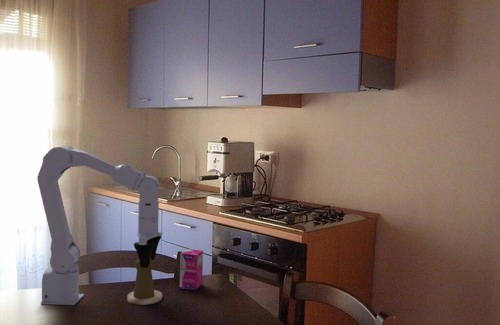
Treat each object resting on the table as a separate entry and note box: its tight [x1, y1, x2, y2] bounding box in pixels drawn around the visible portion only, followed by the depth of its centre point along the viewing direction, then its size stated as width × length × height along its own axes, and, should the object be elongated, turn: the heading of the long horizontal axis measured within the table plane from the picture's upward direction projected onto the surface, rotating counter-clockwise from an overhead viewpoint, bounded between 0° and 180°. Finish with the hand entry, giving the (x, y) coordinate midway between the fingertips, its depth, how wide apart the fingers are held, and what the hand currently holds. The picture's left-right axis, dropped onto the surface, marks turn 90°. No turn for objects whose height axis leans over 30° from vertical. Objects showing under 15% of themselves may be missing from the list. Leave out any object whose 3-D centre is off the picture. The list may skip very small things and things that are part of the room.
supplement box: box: [179, 248, 204, 291], centre depth 149 cm, size 6×6×12 cm
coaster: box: [126, 289, 163, 306], centre depth 138 cm, size 10×10×1 cm
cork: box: [133, 258, 155, 299], centre depth 137 cm, size 6×6×11 cm
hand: (147, 263), depth 137 cm, fingers open, 7 cm apart
